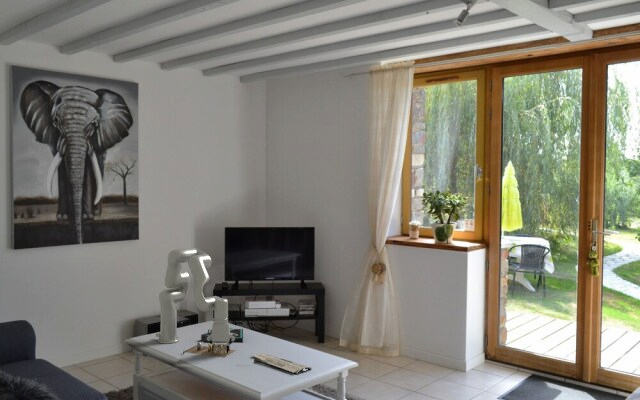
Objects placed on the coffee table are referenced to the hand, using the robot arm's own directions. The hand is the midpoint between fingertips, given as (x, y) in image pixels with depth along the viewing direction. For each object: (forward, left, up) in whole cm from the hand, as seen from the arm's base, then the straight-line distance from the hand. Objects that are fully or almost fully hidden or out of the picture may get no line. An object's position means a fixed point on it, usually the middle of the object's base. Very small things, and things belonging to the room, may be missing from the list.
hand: (220, 352), depth 326 cm
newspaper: (+37, -3, -3) cm, 37 cm away
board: (-7, 0, -2) cm, 7 cm away
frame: (0, 0, 0) cm, 0 cm away
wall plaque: (-13, +29, -2) cm, 32 cm away
